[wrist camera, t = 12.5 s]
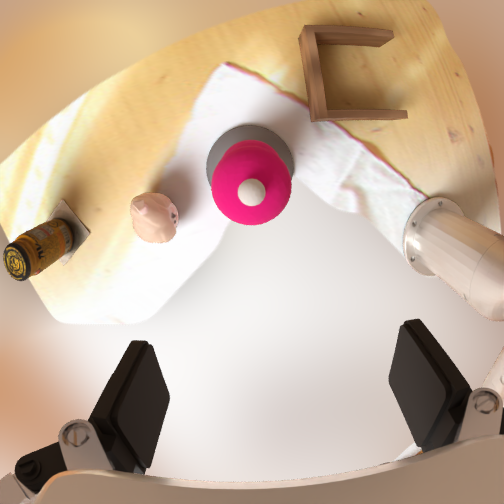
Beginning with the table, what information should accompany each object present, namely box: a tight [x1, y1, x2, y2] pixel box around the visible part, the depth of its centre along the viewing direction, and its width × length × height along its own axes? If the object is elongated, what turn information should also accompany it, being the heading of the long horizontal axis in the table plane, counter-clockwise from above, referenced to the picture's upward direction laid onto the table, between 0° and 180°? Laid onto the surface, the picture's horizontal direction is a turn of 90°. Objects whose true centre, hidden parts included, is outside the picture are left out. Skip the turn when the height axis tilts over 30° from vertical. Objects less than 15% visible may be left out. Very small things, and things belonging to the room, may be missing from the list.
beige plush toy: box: [130, 193, 178, 243], centre depth 36 cm, size 7×6×8 cm
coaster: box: [206, 126, 293, 186], centre depth 37 cm, size 11×11×1 cm
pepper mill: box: [211, 140, 292, 225], centre depth 28 cm, size 7×7×20 cm
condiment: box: [3, 199, 90, 281], centre depth 35 cm, size 7×8×12 cm
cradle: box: [298, 25, 408, 122], centre depth 31 cm, size 12×12×5 cm
